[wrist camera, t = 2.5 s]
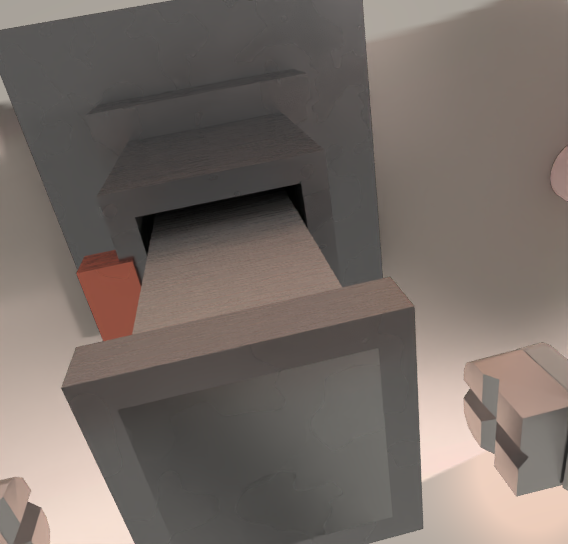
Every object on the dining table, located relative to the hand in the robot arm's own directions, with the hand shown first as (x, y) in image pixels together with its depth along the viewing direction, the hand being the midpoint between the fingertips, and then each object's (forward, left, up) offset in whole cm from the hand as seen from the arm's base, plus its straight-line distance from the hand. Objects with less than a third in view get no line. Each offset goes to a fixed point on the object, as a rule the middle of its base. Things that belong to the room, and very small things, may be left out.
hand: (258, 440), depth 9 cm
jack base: (0, 0, -19) cm, 19 cm away
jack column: (0, 0, -17) cm, 17 cm away
